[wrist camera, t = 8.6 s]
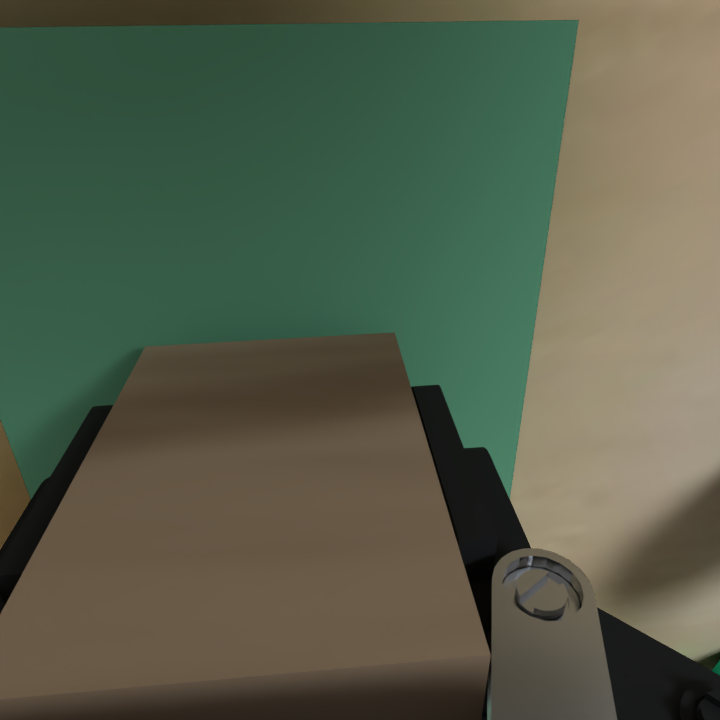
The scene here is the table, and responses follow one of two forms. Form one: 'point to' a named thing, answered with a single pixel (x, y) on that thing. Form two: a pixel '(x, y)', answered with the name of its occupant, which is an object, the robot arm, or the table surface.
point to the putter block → (250, 551)
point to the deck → (274, 205)
